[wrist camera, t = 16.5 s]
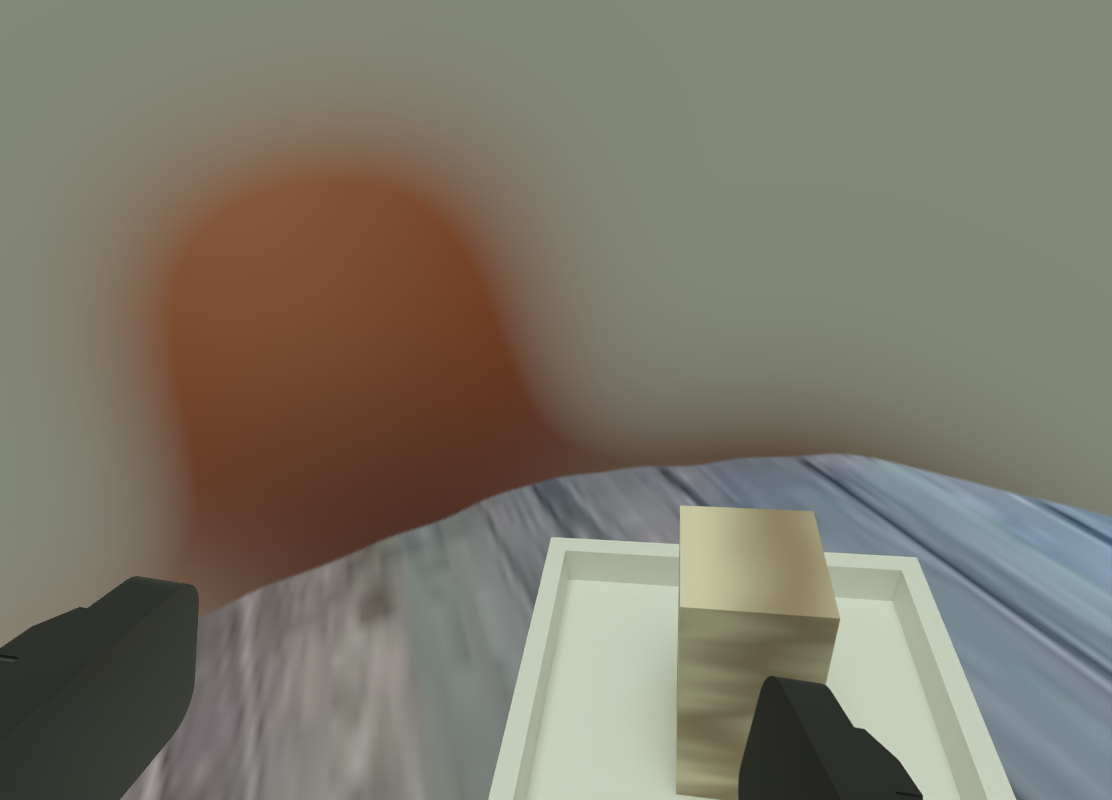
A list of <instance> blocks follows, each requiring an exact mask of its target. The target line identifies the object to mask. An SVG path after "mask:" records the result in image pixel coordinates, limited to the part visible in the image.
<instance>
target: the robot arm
mask: <svg viewBox="0 0 1112 800" xmlns="http://www.w3.org/2000/svg"><path fill="white" fill-rule="evenodd" d="M198 605H199V598H198V592H197V590H196V588H195V587H194V586H193V585H190V584H184V583H178V582H171V581H165V580H158V579H152V578H146V577H139V576H136V577H132V578H129V579H128V580H126V581H124V582H123V583H122V584H120V585H119V586H118V587H116V588H115V589H113V590H112V591H111V592H109V593H108V594H106V595H105V596H104V597H103V598H101V599H100V600H98V601H97V602H95V603H94V604H93V605H91V606H90V607H88V608H81V607H79V608H77V609H74V610H72V611H69V612H67V613H64V614H62V615H59V616H57V617H54V618H52V619H49V620H47V621H45V622H42V623H40V624H37V625H35V626H32V627H31V628H29V629H28V630H26V631H25V632H23V633H22V634H20V635H19V636H17V637H16V638H14V639H13V640H12V641H10V642H9V643H7V644H6V645H4V646H3V647H1V648H0V800H120V799H121V798H122V796H123V795H124V794H125V793H126V792H127V790H128V789H129V788H130V787H131V786H132V784H133V783H134V782H135V781H136V779H137V778H138V777H139V776H140V775H141V773H142V772H143V771H144V770H145V769H146V767H147V766H148V765H149V764H150V763H151V761H152V760H153V759H154V758H155V756H156V755H157V754H158V753H159V752H160V750H161V749H162V748H163V747H164V746H165V744H166V743H167V742H168V741H169V740H170V738H171V737H172V736H173V735H174V733H175V732H176V730H177V729H178V727H179V726H180V724H181V722H182V720H183V718H184V716H185V714H186V712H187V709H188V707H189V704H190V701H191V698H192V694H193V689H194V682H195V664H196V645H197V626H198V607H199V606H198ZM738 799H739V800H923V795H922V793H921V792H920V790H919V789H918V787H917V786H916V784H915V783H914V781H913V780H912V779H911V777H910V776H909V774H908V773H907V771H906V770H905V768H904V767H903V765H902V764H901V762H900V761H899V760H898V759H897V758H896V757H895V756H894V755H893V754H892V753H891V752H889V751H888V750H887V749H886V748H885V747H884V746H883V745H882V744H881V743H879V742H878V741H877V740H876V739H875V738H874V737H873V736H872V735H871V734H870V733H868V732H867V731H866V730H865V729H862V728H856V727H854V726H853V725H852V723H851V721H850V720H849V718H848V717H847V715H846V713H845V712H844V710H843V709H842V707H841V706H840V704H839V702H838V701H837V699H836V698H835V696H834V694H833V693H832V691H831V690H830V689H829V687H827V686H826V685H825V684H822V683H816V682H809V681H803V680H796V679H790V678H784V677H777V676H769V677H767V678H766V680H765V681H764V683H763V685H762V687H761V690H760V694H759V698H758V702H757V705H756V709H755V713H754V717H753V721H752V724H751V728H750V732H749V736H748V739H747V743H746V747H745V751H744V755H743V758H742V762H741V766H740V771H739V780H738Z"/></svg>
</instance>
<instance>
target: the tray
mask: <svg viewBox="0 0 1112 800" xmlns="http://www.w3.org/2000/svg"><path fill="white" fill-rule="evenodd" d="M824 555H825V559H826V563H827V567H828V571H829V575H830V579H831V583H832V587H833V591H834V595H835V599H836V603H837V607H838V611H839V615H840V622H839V627H838V631H837V636H836V640H835V645H834V650H833V654H832V659H831V663H830V668H829V672H828V677H827V681H826V686H827V687H829V689H830V690H831V691H832V693H833V694H834V696H835V698H836V699H837V701H838V702H839V704H840V706H841V707H842V709H843V710H844V712H845V713H846V715H847V717H848V718H849V720H850V721H851V723H852V725H853V726H854V727H856V728H862V729H865V730H866V731H867V732H868V733H870V734H871V735H872V736H873V737H874V738H875V739H876V740H877V741H878V742H879V743H881V744H882V745H883V746H884V747H885V748H886V749H887V750H888V751H889V752H891V753H892V754H893V755H894V756H895V757H896V758H897V759H898V760H899V761H900V762H901V764H902V765H903V767H904V768H905V770H906V771H907V773H908V774H909V776H910V777H911V779H912V780H913V781H914V783H915V784H916V786H917V787H918V789H919V790H920V792H921V793H922V795H923V800H1016V798H1015V796H1014V794H1013V791H1012V789H1011V786H1010V784H1009V781H1008V779H1007V776H1006V774H1005V772H1004V769H1003V767H1002V764H1001V762H1000V759H999V757H998V754H997V752H996V750H995V747H994V745H993V742H992V740H991V737H990V735H989V733H988V730H987V728H986V725H985V723H984V720H983V718H982V715H981V713H980V711H979V708H978V706H977V703H976V701H975V698H974V696H973V694H972V691H971V689H970V686H969V684H968V681H967V679H966V676H965V674H964V672H963V669H962V667H961V664H960V662H959V659H958V657H957V655H956V652H955V650H954V647H953V645H952V642H951V640H950V637H949V635H948V633H947V630H946V628H945V625H944V623H943V620H942V618H941V616H940V613H939V611H938V608H937V606H936V603H935V601H934V598H933V596H932V594H931V591H930V589H929V586H928V584H927V581H926V579H925V576H924V574H923V572H922V569H921V567H920V564H919V562H918V559H917V557H899V556H881V555H863V554H845V553H827V552H824ZM678 595H679V544H664V543H646V542H628V541H610V540H592V539H574V538H556V537H551V541H550V545H549V549H548V554H547V558H546V562H545V566H544V570H543V574H542V579H541V583H540V587H539V591H538V595H537V599H536V604H535V608H534V612H533V616H532V620H531V624H530V628H529V633H528V637H527V641H526V645H525V649H524V653H523V658H522V662H521V666H520V670H519V674H518V678H517V683H516V687H515V691H514V695H513V699H512V703H511V707H510V712H509V716H508V720H507V724H506V728H505V732H504V737H503V741H502V745H501V749H500V753H499V757H498V762H497V766H496V770H495V774H494V778H493V782H492V786H491V791H490V795H489V799H488V800H717V799H709V798H701V797H693V796H686V795H678V794H676V726H677V649H678Z"/></svg>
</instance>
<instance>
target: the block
mask: <svg viewBox="0 0 1112 800" xmlns="http://www.w3.org/2000/svg"><path fill="white" fill-rule="evenodd" d="M839 622H840V615H839V611H838V607H837V603H836V599H835V595H834V591H833V587H832V583H831V579H830V575H829V571H828V567H827V563H826V559H825V555H824V552H823V548H822V544H821V540H820V536H819V532H818V528H817V524H816V520H815V516H814V512H813V511H794V510H771V509H747V508H724V507H701V506H680V540H679V595H678V649H677V726H676V794H678V795H686V796H693V797H701V798H709V799H717V800H739V799H738V780H739V771H740V766H741V762H742V758H743V755H744V751H745V747H746V743H747V739H748V736H749V732H750V728H751V724H752V721H753V717H754V713H755V709H756V705H757V702H758V698H759V694H760V690H761V687H762V685H763V683H764V681H765V680H766V678H767V677H769V676H777V677H784V678H790V679H796V680H803V681H809V682H816V683H822V684H825V685H826V681H827V677H828V672H829V668H830V663H831V659H832V654H833V650H834V645H835V640H836V636H837V631H838V627H839Z"/></svg>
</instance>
